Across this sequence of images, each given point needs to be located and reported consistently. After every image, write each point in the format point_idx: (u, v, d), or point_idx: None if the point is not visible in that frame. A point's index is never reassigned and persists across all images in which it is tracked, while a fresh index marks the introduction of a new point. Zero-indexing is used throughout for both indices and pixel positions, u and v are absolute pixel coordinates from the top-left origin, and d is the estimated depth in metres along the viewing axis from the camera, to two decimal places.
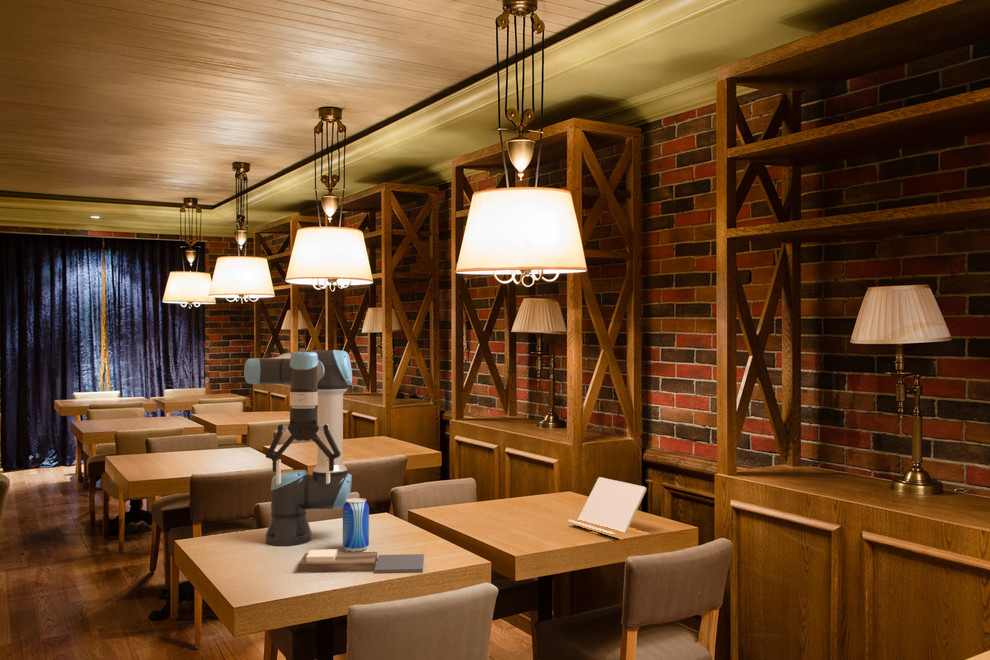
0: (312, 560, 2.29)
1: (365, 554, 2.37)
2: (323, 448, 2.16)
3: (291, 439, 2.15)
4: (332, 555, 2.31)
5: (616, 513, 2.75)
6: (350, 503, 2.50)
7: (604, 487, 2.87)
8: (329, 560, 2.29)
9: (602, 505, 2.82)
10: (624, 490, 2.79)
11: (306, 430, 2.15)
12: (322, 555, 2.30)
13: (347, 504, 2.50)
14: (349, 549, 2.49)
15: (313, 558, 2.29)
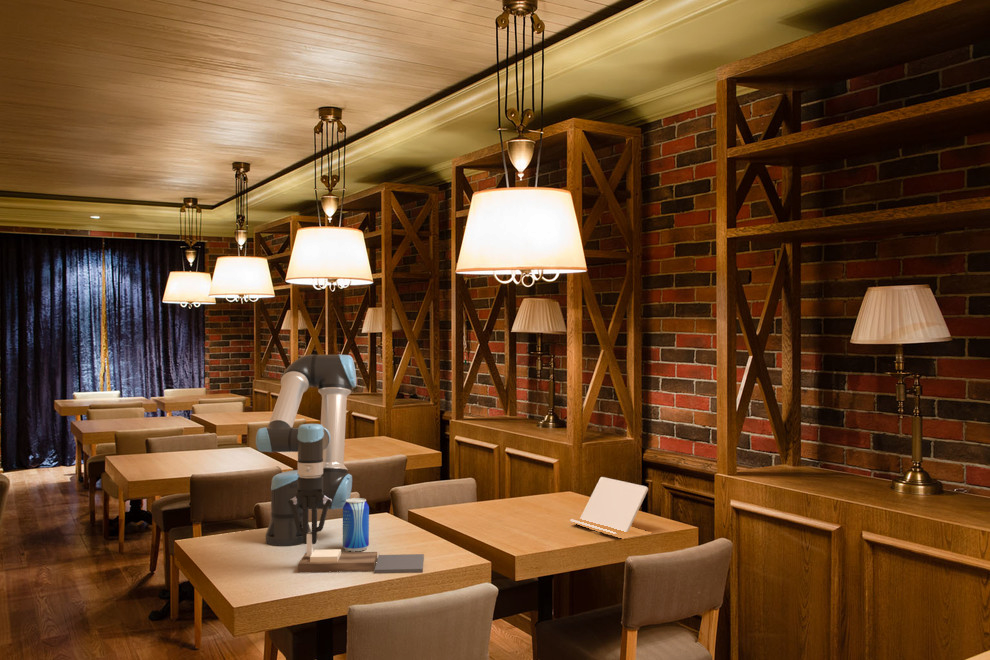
0: (316, 560, 2.29)
1: (365, 554, 2.37)
2: (314, 520, 2.32)
3: (305, 508, 2.31)
4: (336, 555, 2.31)
5: (618, 513, 2.75)
6: (350, 503, 2.50)
7: (606, 487, 2.88)
8: (333, 560, 2.29)
9: (604, 504, 2.83)
10: (626, 490, 2.79)
11: (313, 498, 2.31)
12: (326, 555, 2.30)
13: (347, 504, 2.50)
14: (349, 549, 2.49)
15: (317, 558, 2.29)
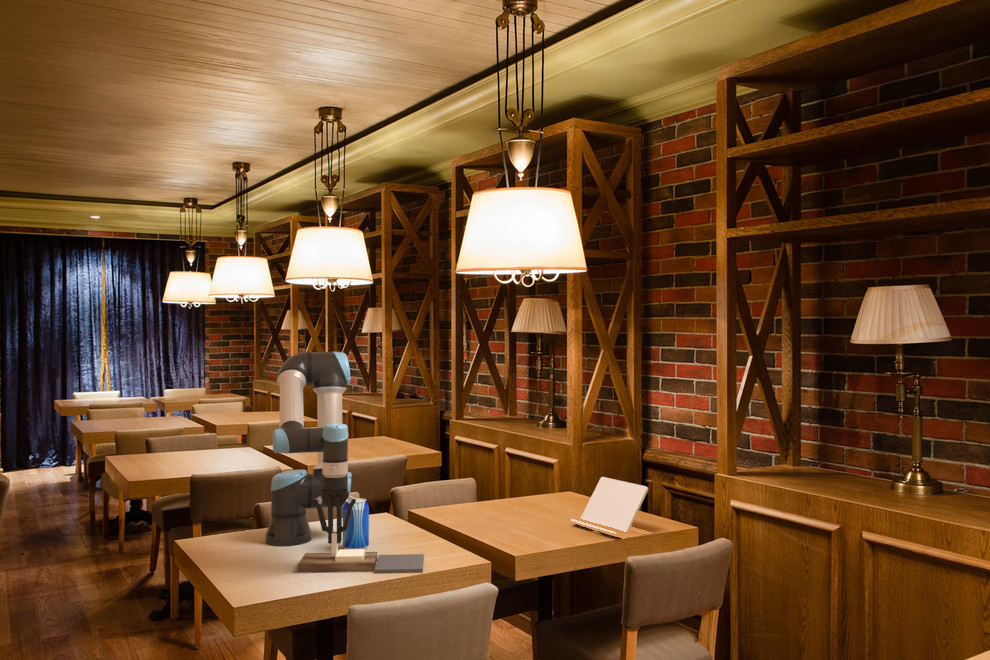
0: (341, 560, 2.29)
1: (365, 554, 2.37)
2: (339, 520, 2.32)
3: (330, 508, 2.32)
4: (361, 554, 2.31)
5: (618, 513, 2.75)
6: None
7: (606, 487, 2.88)
8: (358, 560, 2.30)
9: (604, 504, 2.83)
10: (626, 490, 2.79)
11: (338, 497, 2.32)
12: (351, 555, 2.31)
13: (347, 504, 2.50)
14: None
15: (342, 558, 2.29)
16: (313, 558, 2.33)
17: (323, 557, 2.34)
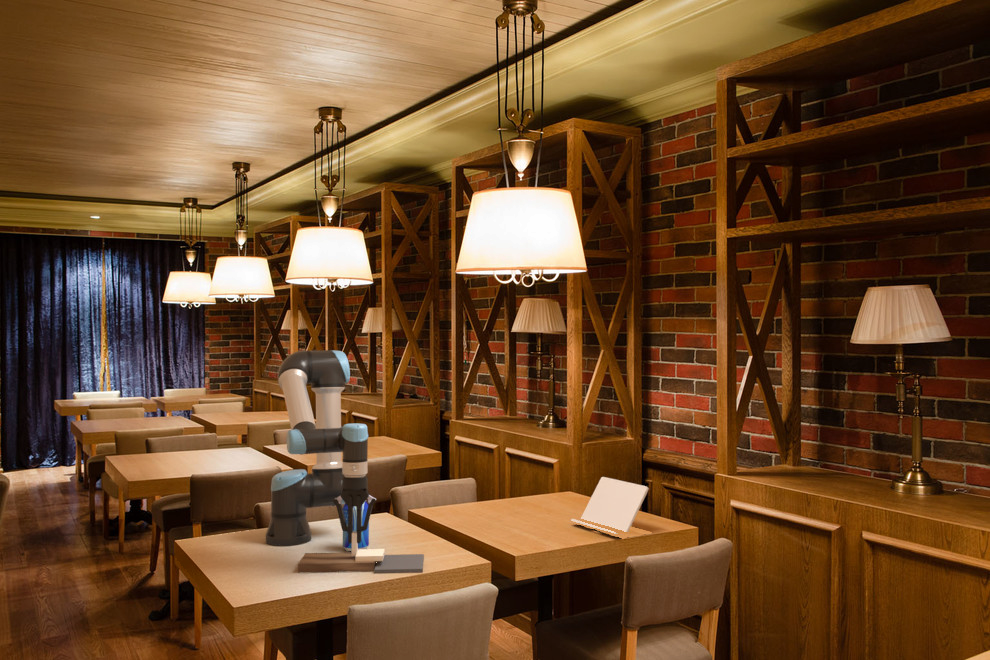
0: (361, 559, 2.30)
1: None
2: (359, 519, 2.33)
3: (350, 507, 2.32)
4: (381, 554, 2.31)
5: (618, 513, 2.75)
6: None
7: (607, 487, 2.88)
8: (378, 559, 2.30)
9: (604, 504, 2.83)
10: (626, 490, 2.79)
11: (358, 497, 2.32)
12: (371, 554, 2.31)
13: None
14: (349, 549, 2.49)
15: (362, 557, 2.30)
16: (313, 558, 2.33)
17: (323, 557, 2.34)
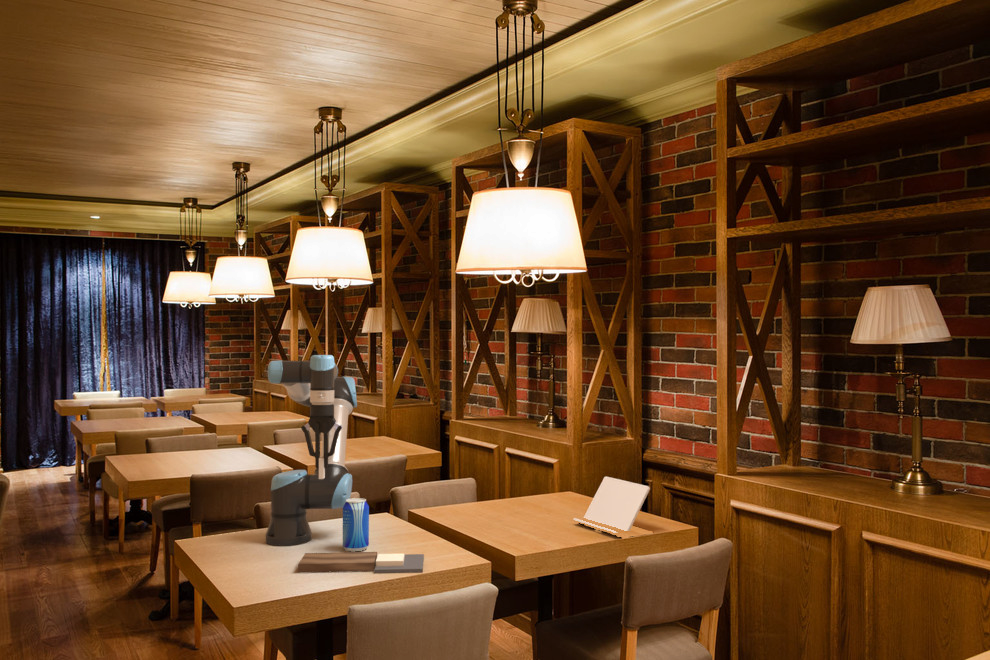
0: (382, 564, 2.30)
1: (365, 554, 2.37)
2: (325, 445, 2.44)
3: (317, 433, 2.44)
4: (401, 559, 2.32)
5: (620, 512, 2.76)
6: (350, 503, 2.50)
7: (609, 486, 2.89)
8: (398, 564, 2.30)
9: (607, 504, 2.84)
10: (628, 489, 2.80)
11: (324, 423, 2.44)
12: (391, 559, 2.31)
13: (347, 504, 2.50)
14: (349, 549, 2.49)
15: (383, 562, 2.30)
16: (313, 558, 2.33)
17: (323, 557, 2.34)
